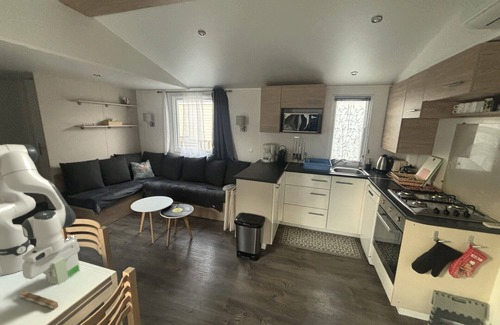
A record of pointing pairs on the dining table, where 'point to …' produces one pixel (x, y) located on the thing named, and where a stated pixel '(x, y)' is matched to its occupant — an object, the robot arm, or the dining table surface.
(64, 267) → the sage tea box
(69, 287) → the dining table surface
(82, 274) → the dining table surface
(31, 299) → the rail
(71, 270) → the skincare box
